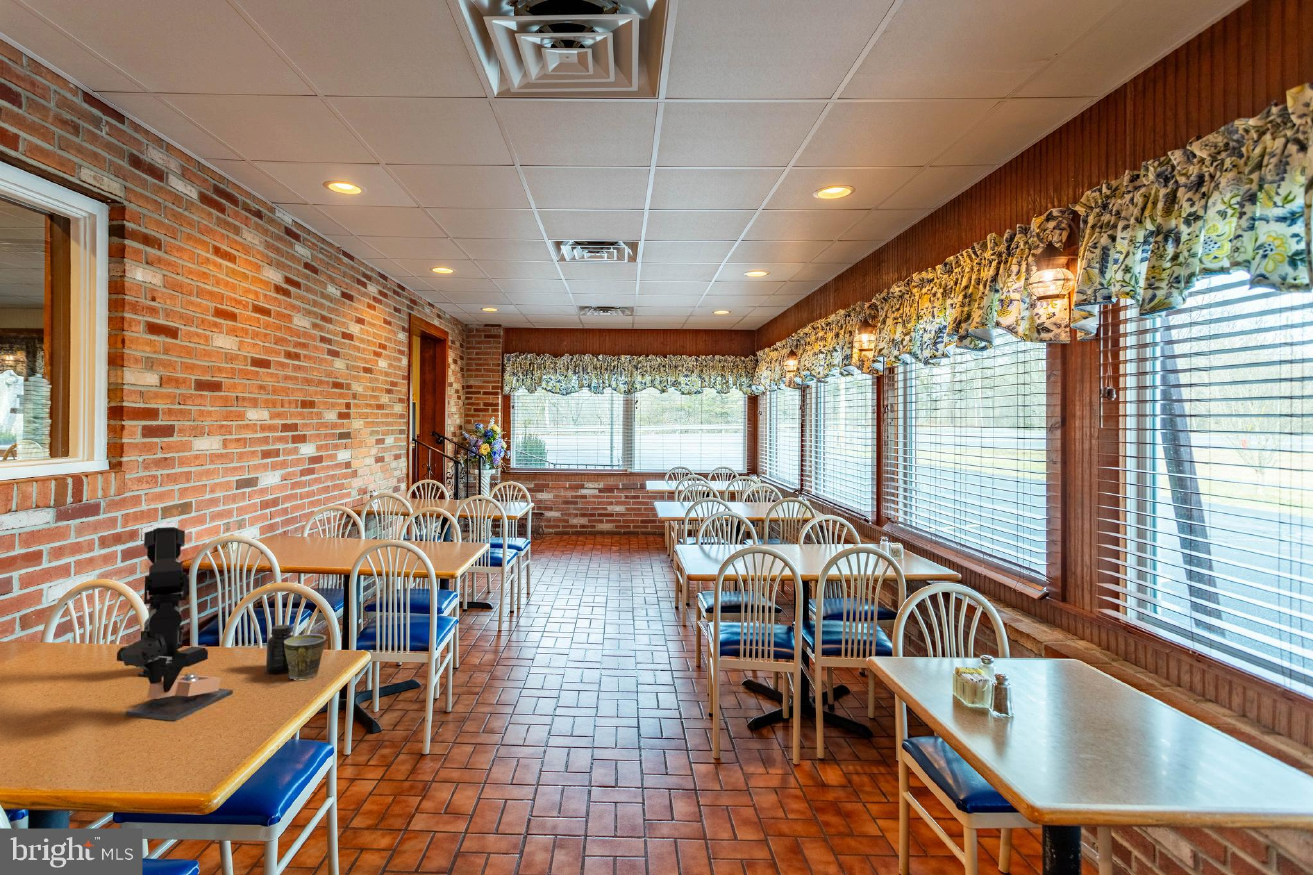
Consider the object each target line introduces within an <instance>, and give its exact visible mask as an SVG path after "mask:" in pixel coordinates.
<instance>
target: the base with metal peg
mask: <svg viewBox="0 0 1313 875" xmlns="http://www.w3.org/2000/svg"><path fill="white" fill-rule="evenodd" d="M195 675H196V673H194V672H191V673H187V674H184V675H183V676H184V678H182V679H181V681H196V680H198V679H199V677H198V676H199V675H198V676H195ZM233 691H234V689H229V688H227V689H226V688H219V690H218V691H214V692H208V693H203V694H198V695H193V696H178V695H174V696H169V697H164V698H158V699H154V698H153V699H152V700H150V701H147V702H144V703H143V704H140V705H138V706H136V707H133V708H131V709H128V710H126V711H125V717H131V718H133V717H134V718H143V719H151V720H153V719H155V720H162V721H172V722H177V721H179V720H181V719H183V718H185V717H188V716H189V715H191V714H194V713H195V712H198V711H200V710H201V709H204V708H206V707H208V706H210V705H213V704H214V703H217V702H218V701H222V700H223V699H225V698H227V697H230V696H231V695H233V693H234V692H233Z"/></svg>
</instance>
